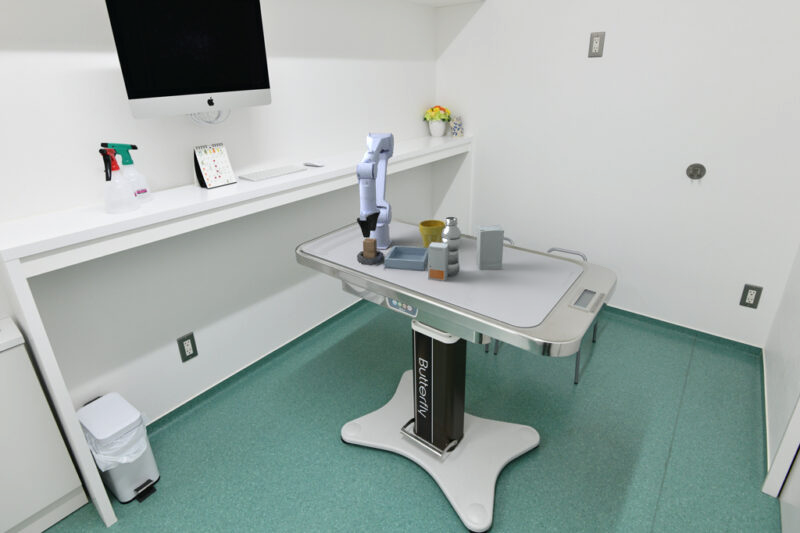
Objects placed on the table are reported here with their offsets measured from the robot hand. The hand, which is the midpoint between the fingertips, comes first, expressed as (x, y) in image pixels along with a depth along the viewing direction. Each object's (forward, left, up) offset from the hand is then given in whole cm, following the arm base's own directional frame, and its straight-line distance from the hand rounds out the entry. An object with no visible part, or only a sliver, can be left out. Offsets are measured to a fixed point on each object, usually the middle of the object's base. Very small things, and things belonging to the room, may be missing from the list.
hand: (369, 233), depth 164 cm
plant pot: (-19, +20, -11) cm, 30 cm away
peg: (0, 0, -10) cm, 10 cm away
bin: (-1, +14, -10) cm, 17 cm away
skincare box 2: (-2, +43, -11) cm, 44 cm away
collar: (0, 0, -10) cm, 10 cm away
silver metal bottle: (+7, +30, -11) cm, 33 cm away
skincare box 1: (+11, +27, -11) cm, 31 cm away
